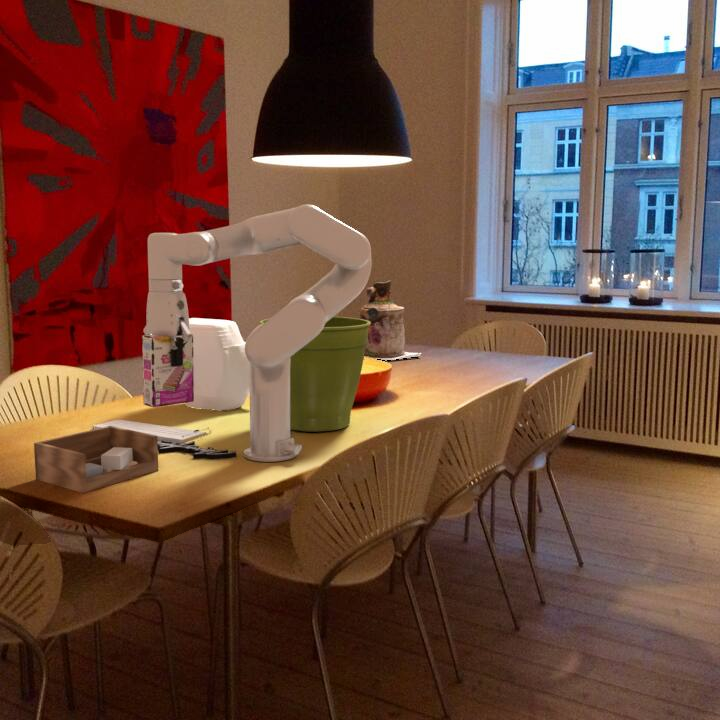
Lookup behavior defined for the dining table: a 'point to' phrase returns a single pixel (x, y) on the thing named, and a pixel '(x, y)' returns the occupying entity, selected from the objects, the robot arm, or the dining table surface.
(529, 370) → the dining table surface
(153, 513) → the dining table surface
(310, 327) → the robot arm
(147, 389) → the candy bar box
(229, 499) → the dining table surface
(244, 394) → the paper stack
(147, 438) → the wooden divided box
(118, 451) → the offcut
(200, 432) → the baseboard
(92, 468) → the offcut
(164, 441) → the nameplate
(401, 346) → the cookie jar
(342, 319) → the plant pot
